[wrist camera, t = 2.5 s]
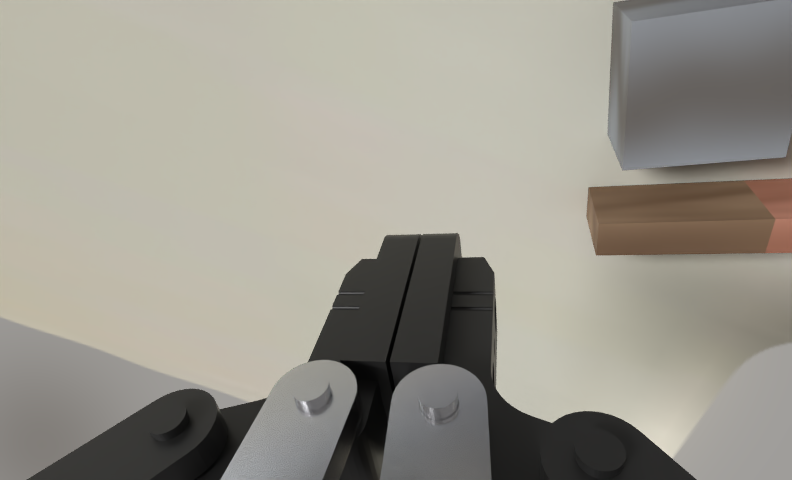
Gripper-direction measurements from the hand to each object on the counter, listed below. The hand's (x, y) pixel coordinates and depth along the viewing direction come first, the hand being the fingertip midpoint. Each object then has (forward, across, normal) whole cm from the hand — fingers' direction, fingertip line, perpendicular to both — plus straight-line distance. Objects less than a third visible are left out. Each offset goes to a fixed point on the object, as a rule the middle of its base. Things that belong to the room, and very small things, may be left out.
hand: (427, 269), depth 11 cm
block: (+12, -8, 0) cm, 15 cm away
